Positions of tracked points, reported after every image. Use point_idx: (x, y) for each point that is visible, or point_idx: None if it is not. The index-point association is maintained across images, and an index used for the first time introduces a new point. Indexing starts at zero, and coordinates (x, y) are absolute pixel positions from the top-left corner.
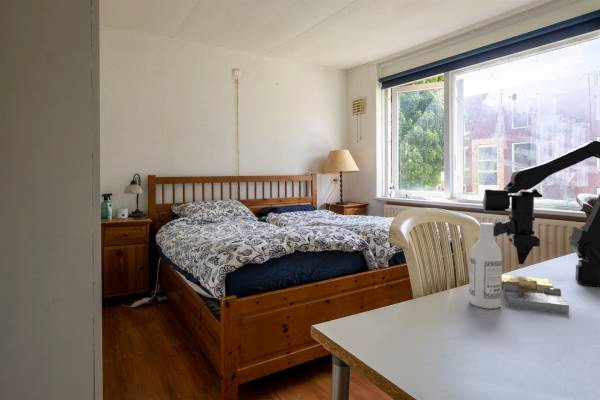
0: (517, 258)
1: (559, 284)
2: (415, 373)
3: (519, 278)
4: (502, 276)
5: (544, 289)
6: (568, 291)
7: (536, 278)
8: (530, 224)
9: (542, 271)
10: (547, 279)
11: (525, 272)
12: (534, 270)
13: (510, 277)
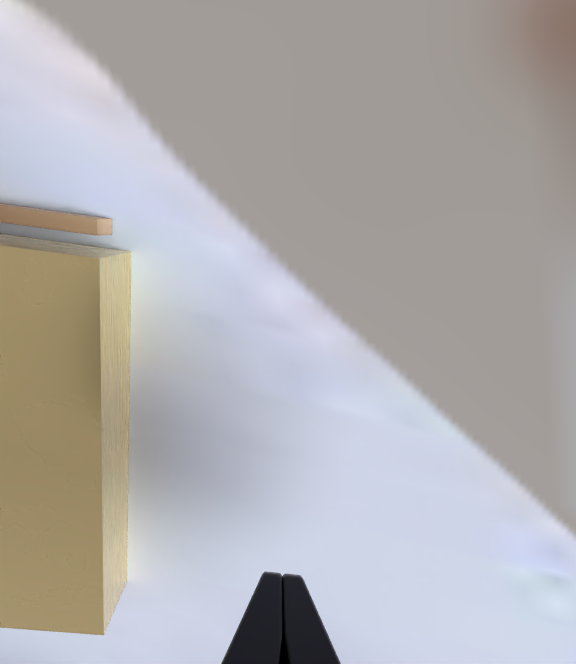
0: (294, 640)
1: (179, 650)
2: None
3: (9, 435)
4: (21, 280)
5: None
6: (23, 648)
7: (83, 569)
8: None
9: (522, 653)
10: (83, 631)
11: (484, 544)
12: (551, 616)
13: (12, 358)
